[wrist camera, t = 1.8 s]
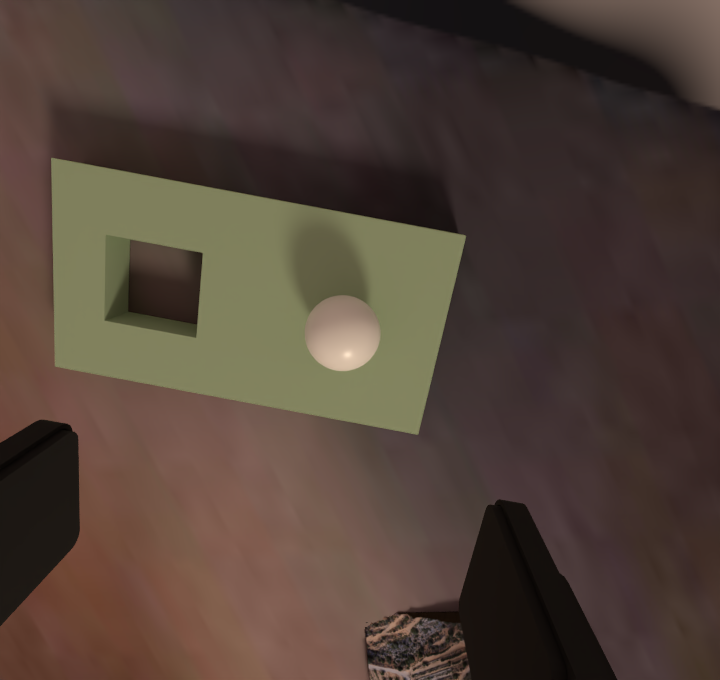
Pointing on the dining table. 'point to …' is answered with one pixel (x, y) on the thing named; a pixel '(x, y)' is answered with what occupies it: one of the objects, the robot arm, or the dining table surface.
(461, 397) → the dining table surface
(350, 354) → the ball
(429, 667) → the terrain model
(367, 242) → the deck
